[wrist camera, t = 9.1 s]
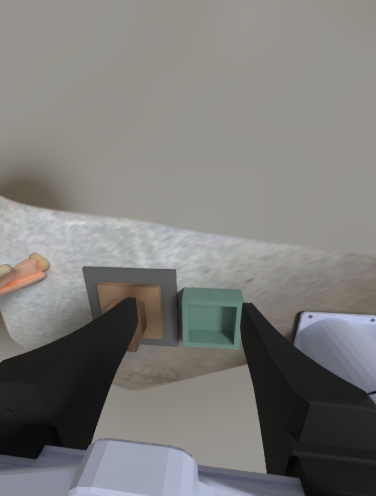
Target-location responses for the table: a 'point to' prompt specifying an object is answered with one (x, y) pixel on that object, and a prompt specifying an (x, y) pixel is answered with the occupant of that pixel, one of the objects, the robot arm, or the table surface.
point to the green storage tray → (211, 318)
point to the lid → (146, 307)
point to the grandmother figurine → (22, 273)
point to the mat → (139, 277)
